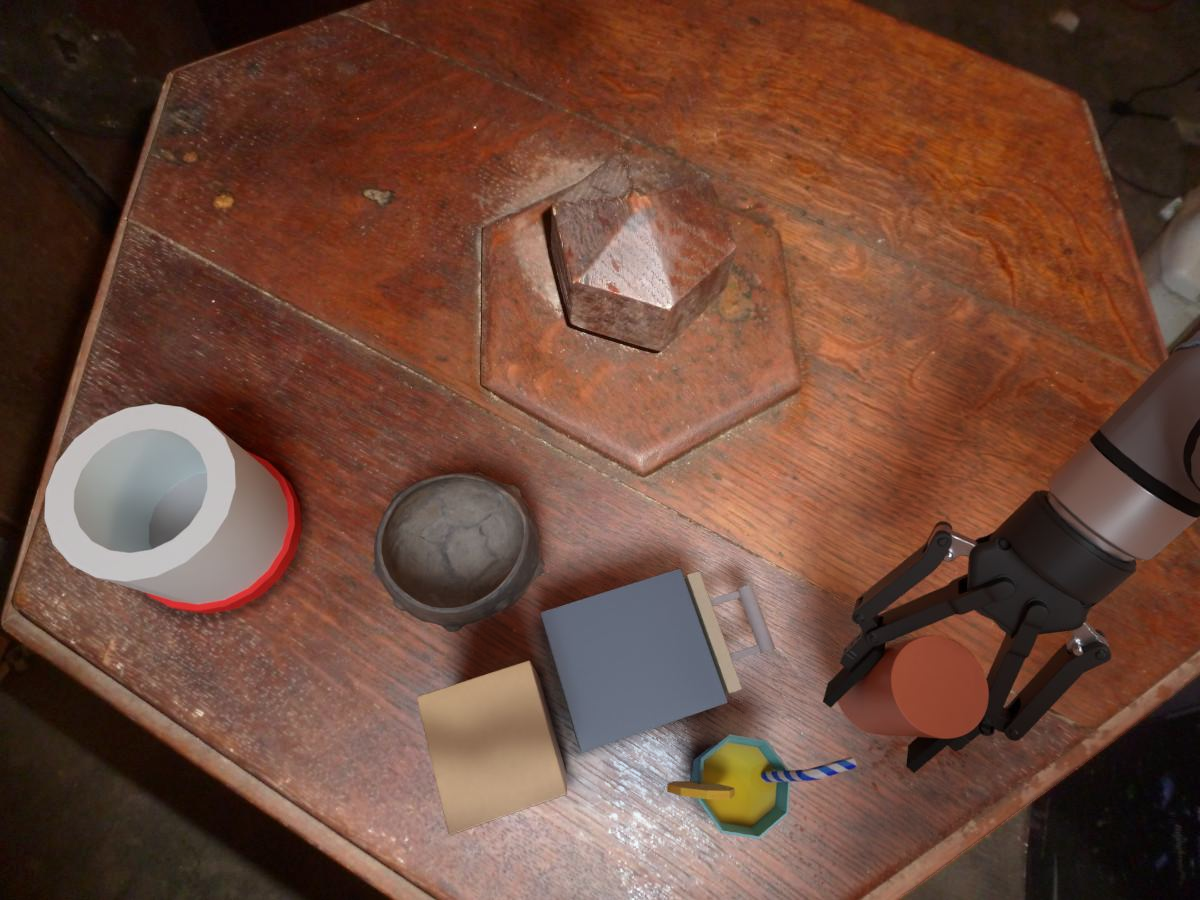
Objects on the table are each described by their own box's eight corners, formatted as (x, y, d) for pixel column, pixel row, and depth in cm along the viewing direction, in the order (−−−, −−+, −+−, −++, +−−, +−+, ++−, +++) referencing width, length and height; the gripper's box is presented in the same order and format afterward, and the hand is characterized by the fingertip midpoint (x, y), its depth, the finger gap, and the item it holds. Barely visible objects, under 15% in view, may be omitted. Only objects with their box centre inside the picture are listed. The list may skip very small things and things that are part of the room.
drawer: (731, 570, 76) (749, 554, 68) (770, 676, 72) (794, 671, 65) (573, 621, 73) (574, 610, 66) (606, 732, 70) (611, 733, 63)
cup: (787, 711, 72) (841, 708, 58) (813, 799, 70) (877, 819, 56) (643, 749, 71) (663, 756, 57) (665, 840, 68) (692, 871, 54)
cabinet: (666, 586, 76) (680, 567, 67) (707, 704, 72) (728, 702, 63) (543, 625, 74) (540, 612, 65) (579, 748, 71) (581, 753, 61)
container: (147, 455, 78) (57, 398, 64) (309, 452, 79) (254, 395, 65) (120, 616, 73) (15, 592, 59) (293, 611, 73) (230, 587, 60)
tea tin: (930, 718, 65) (1006, 719, 54) (855, 746, 64) (917, 753, 53) (894, 637, 68) (961, 622, 56) (822, 664, 67) (874, 653, 55)
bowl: (565, 592, 75) (565, 573, 66) (416, 663, 72) (393, 655, 63) (507, 468, 79) (499, 434, 70) (363, 531, 76) (335, 505, 67)
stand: (566, 774, 70) (567, 794, 51) (480, 804, 69) (448, 836, 50) (538, 675, 72) (529, 659, 54) (455, 702, 71) (416, 696, 52)
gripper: (1214, 593, 52) (977, 779, 63) (959, 419, 56) (776, 624, 66) (1249, 650, 46) (979, 847, 57) (959, 449, 49) (756, 671, 60)
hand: (870, 726), depth 61 cm, fingers closed on tea tin, 7 cm apart
